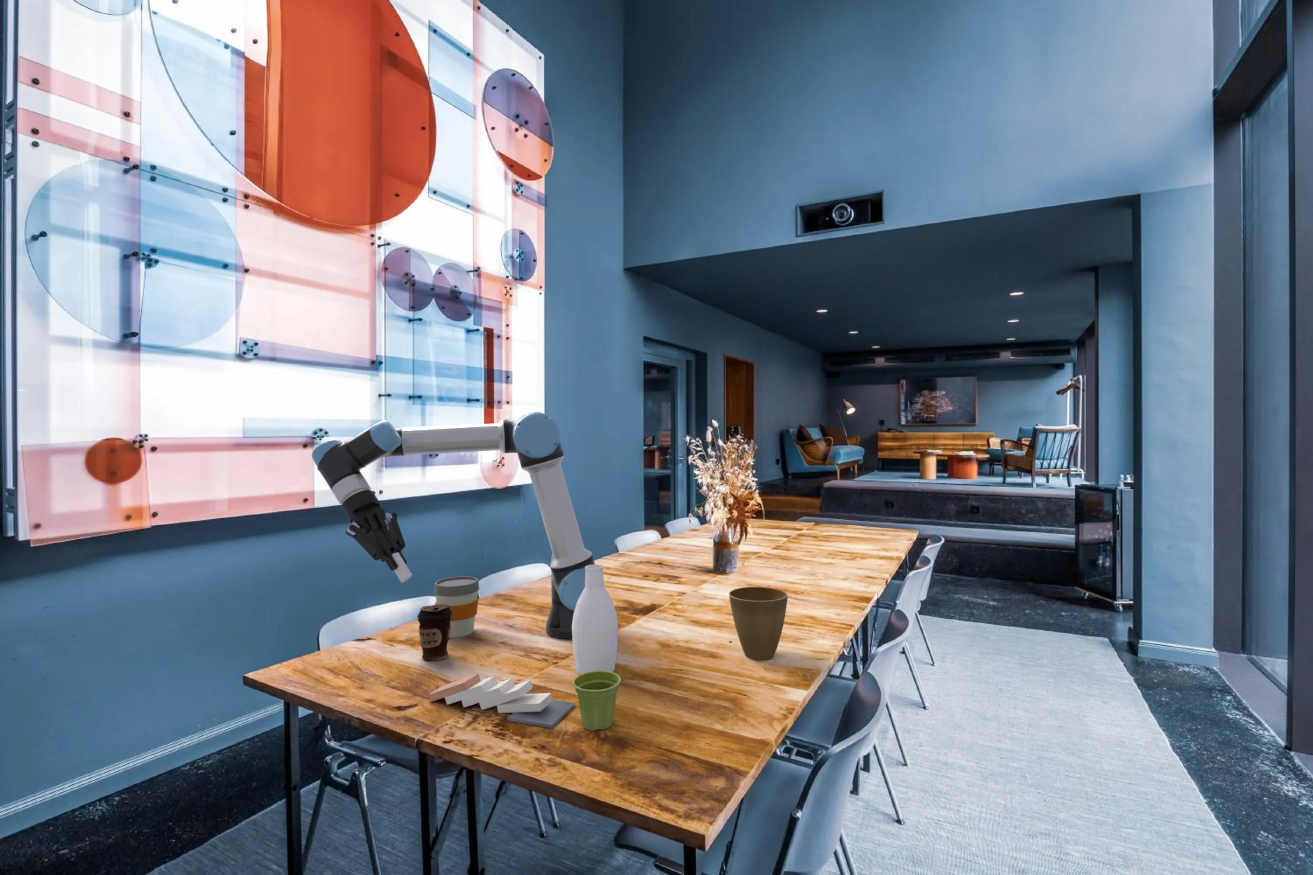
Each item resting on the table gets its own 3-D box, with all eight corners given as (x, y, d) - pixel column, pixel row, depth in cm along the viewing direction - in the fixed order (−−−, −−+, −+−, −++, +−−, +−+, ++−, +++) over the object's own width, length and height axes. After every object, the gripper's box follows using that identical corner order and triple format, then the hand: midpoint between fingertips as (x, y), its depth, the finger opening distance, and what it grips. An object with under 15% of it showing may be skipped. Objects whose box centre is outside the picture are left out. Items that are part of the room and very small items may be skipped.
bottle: (599, 659, 150) (597, 559, 150) (628, 671, 142) (626, 565, 142) (563, 671, 142) (561, 566, 142) (591, 685, 134) (590, 573, 134)
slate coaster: (507, 720, 118) (507, 717, 118) (533, 699, 127) (533, 696, 127) (551, 728, 114) (551, 724, 114) (575, 705, 124) (575, 702, 124)
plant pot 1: (602, 740, 109) (601, 694, 109) (563, 727, 114) (562, 683, 114) (630, 719, 117) (630, 676, 117) (593, 708, 122) (592, 667, 122)
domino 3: (461, 700, 124) (498, 687, 121) (475, 690, 129) (512, 677, 126) (463, 707, 124) (501, 695, 121) (478, 697, 129) (514, 685, 126)
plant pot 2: (799, 653, 151) (798, 591, 151) (768, 671, 140) (767, 604, 140) (750, 640, 161) (750, 582, 161) (718, 656, 151) (717, 593, 151)
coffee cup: (440, 664, 148) (439, 612, 148) (410, 662, 149) (409, 611, 149) (458, 651, 156) (457, 603, 156) (430, 649, 158) (429, 601, 158)
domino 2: (444, 697, 125) (481, 684, 122) (459, 687, 130) (495, 675, 127) (447, 704, 125) (484, 692, 122) (461, 694, 130) (497, 682, 127)
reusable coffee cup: (471, 639, 166) (470, 586, 166) (427, 639, 166) (426, 586, 166) (485, 625, 178) (484, 575, 178) (444, 625, 178) (443, 576, 178)
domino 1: (428, 694, 127) (464, 682, 124) (443, 685, 132) (478, 673, 129) (430, 701, 127) (466, 689, 124) (445, 692, 131) (480, 680, 128)
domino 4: (479, 702, 123) (517, 689, 120) (492, 692, 127) (530, 679, 124) (481, 709, 122) (520, 697, 120) (495, 699, 127) (532, 687, 124)
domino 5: (496, 704, 121) (539, 703, 118) (510, 694, 126) (551, 692, 123) (498, 712, 121) (540, 711, 118) (511, 702, 126) (552, 700, 123)
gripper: (373, 500, 149) (421, 577, 144) (324, 512, 137) (375, 597, 133) (386, 483, 145) (436, 561, 141) (338, 494, 134) (390, 580, 130)
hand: (406, 578), depth 137 cm, fingers closed
